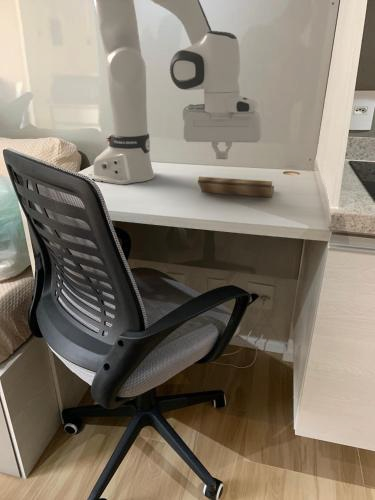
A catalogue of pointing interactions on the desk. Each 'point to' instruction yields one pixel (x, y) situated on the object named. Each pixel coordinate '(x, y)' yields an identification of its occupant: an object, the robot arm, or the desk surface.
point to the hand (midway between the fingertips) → (222, 158)
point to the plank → (236, 186)
